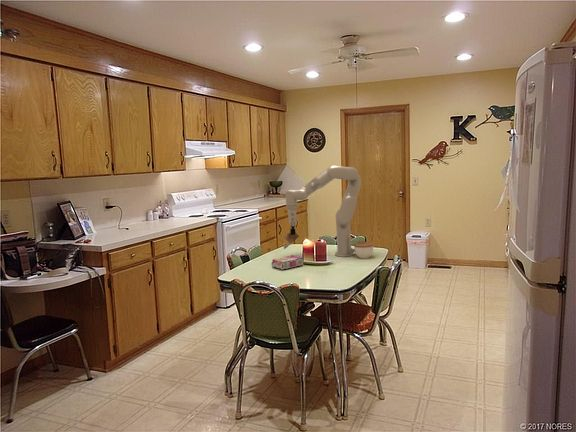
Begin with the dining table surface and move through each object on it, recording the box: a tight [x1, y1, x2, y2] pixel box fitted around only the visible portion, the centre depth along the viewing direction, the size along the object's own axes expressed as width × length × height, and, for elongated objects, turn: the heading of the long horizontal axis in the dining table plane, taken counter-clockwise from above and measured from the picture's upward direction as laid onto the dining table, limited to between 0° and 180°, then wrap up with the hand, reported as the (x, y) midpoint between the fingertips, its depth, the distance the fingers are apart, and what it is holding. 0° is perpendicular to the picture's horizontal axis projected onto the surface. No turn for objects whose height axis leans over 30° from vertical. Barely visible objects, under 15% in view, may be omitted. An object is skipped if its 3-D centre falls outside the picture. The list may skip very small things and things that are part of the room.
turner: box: [283, 231, 300, 250], centre depth 306 cm, size 13×5×6 cm
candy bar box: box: [271, 255, 305, 270], centre depth 280 cm, size 11×5×16 cm
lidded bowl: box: [353, 240, 374, 260], centre depth 294 cm, size 13×13×11 cm
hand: (292, 234), depth 306 cm, fingers closed on turner, 3 cm apart
